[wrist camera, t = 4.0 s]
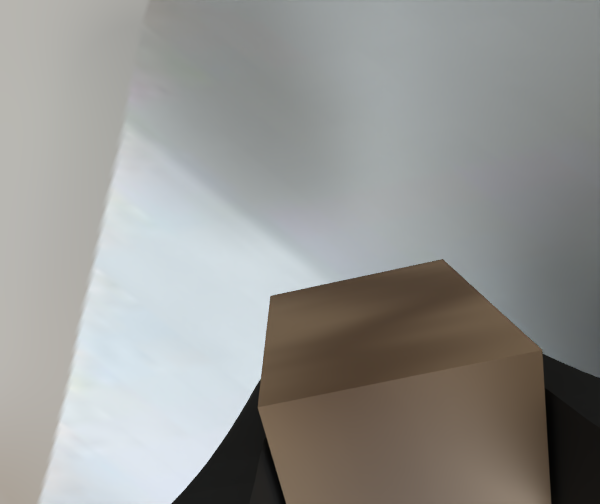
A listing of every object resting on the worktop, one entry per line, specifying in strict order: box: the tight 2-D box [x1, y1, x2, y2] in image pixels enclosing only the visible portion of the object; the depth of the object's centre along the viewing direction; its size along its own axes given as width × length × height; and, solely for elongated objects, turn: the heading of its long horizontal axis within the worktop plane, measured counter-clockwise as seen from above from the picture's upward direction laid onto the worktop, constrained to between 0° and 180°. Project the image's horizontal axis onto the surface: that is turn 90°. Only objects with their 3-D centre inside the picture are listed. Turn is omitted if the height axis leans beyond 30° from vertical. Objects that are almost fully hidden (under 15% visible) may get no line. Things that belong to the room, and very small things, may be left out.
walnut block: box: [258, 259, 551, 504], centre depth 11 cm, size 5×5×5 cm
